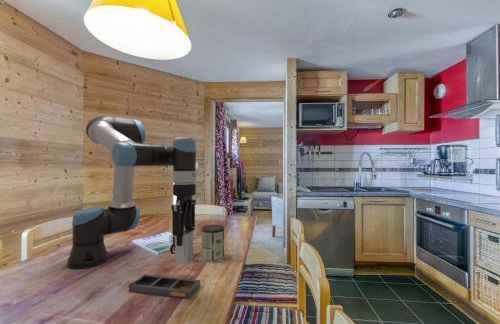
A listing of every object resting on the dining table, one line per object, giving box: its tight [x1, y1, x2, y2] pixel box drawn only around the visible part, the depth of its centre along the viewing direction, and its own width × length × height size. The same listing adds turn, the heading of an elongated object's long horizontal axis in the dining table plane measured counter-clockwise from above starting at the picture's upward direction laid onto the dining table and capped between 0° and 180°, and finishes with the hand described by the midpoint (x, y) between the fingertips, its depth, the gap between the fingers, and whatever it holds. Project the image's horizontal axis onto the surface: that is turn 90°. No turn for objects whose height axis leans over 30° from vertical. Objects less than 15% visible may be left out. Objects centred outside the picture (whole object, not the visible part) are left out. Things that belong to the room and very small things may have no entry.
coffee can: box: [201, 224, 225, 263], centre depth 116 cm, size 10×10×14 cm
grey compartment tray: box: [128, 274, 201, 300], centre depth 87 cm, size 22×9×2 cm, turn 78°
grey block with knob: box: [174, 229, 194, 266], centre depth 85 cm, size 4×4×10 cm
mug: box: [169, 235, 175, 255], centre depth 116 cm, size 11×8×10 cm
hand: (184, 252), depth 85 cm, fingers closed on grey block with knob, 4 cm apart
